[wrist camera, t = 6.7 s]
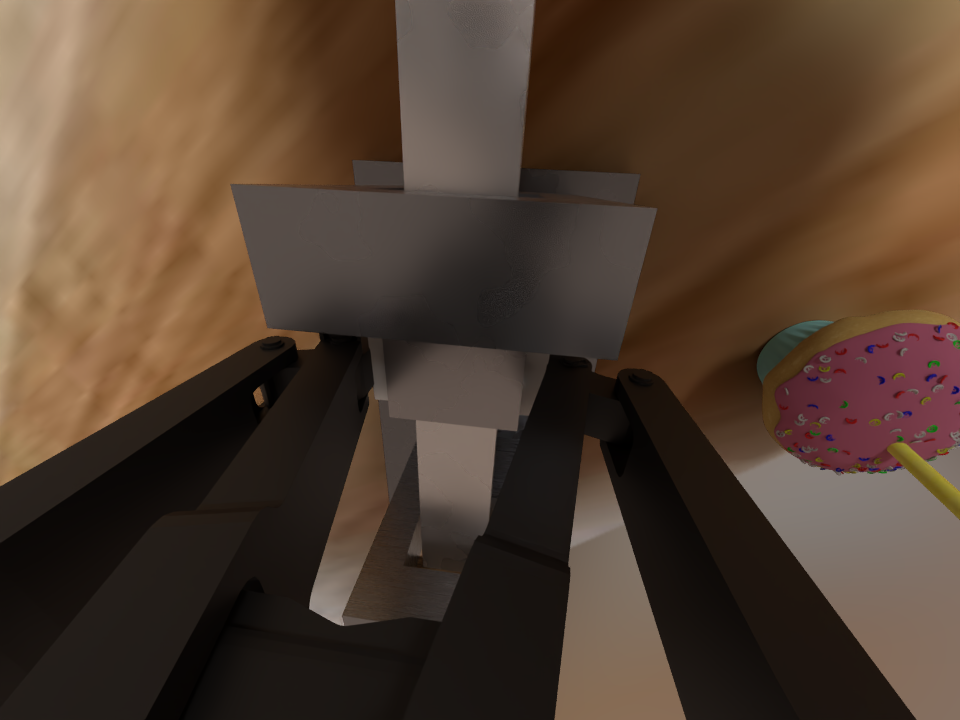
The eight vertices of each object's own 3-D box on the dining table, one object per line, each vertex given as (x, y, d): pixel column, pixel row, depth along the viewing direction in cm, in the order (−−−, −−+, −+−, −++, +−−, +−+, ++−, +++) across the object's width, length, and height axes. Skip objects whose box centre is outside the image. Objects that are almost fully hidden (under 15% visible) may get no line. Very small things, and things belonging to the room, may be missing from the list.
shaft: (406, -130, 9) (316, -373, 5) (576, -133, 9) (620, -399, 5) (427, 502, 20) (404, 579, 16) (502, 512, 20) (497, 593, 16)
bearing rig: (364, 162, 18) (64, 115, 6) (631, 175, 17) (877, 149, 5) (395, 490, 30) (309, 693, 18) (556, 511, 29) (579, 743, 17)
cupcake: (833, 422, 22) (1119, 640, 11) (698, 404, 23) (852, 597, 12) (923, 294, 18) (1490, 446, 7) (757, 276, 19) (1066, 395, 8)
